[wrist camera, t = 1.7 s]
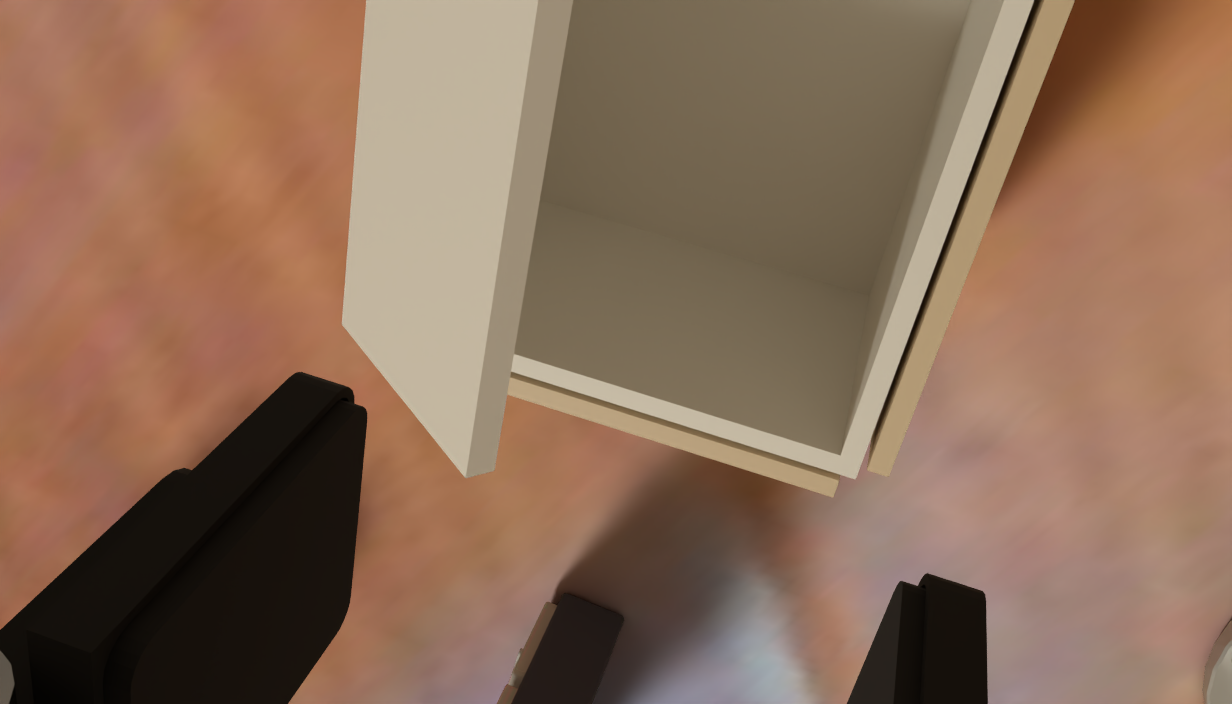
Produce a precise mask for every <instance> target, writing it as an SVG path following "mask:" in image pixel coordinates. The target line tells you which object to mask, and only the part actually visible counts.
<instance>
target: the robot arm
mask: <svg viewBox="0 0 1232 704" xmlns="http://www.w3.org/2000/svg"><path fill="white" fill-rule="evenodd" d="M366 427H367V411H366V409H365V408H364V407H362V406H359V405H356V404H354V394H353V391H352V390H351V389H350V388H349V387H346V386H343V385H340V384H337V383H334V382H331V381H328V380H325V379H322V378H318V377H315V376H312V375H309V374H306V373H303V372H298V373H295V374H293V375H292V376H291V377H289V378H288V379H287V380H286V381H285V382H284V383H283V384H282V385H281V386H280V387H279V388H278V389H277V390H276V391H275V392H274V393H273V394H272V395H271V396H270V397H268V398H267V399H266V400H265V401H264V402H263V403H262V404H261V405H260V406H259V407H258V408H257V409H256V410H255V411H254V412H253V413H252V414H251V415H250V416H249V417H248V418H247V419H245V420H244V421H243V422H242V423H241V424H240V425H239V426H238V427H237V428H236V429H235V430H234V431H233V432H232V433H231V434H230V435H229V436H228V437H227V438H226V439H225V440H224V441H222V442H221V443H220V444H219V445H218V446H217V447H216V448H215V449H214V450H213V451H212V452H211V453H210V454H209V455H208V456H207V457H206V458H205V459H204V460H203V461H202V462H201V463H199V464H198V465H197V466H196V467H195V468H194V469H193V470H189V469H186V468H182V469H178V470H174V471H173V472H171V473H170V474H169V475H167V476H166V477H164V478H163V479H162V480H161V481H160V482H159V483H157V484H156V485H155V486H154V487H153V488H152V489H151V490H150V491H149V492H148V493H147V494H146V495H145V496H144V497H142V498H141V499H140V500H139V501H138V502H137V503H136V504H135V505H134V506H133V507H132V508H131V509H130V510H129V511H127V512H126V513H125V514H124V515H123V516H122V517H121V518H120V519H119V520H118V521H117V522H116V523H115V524H114V525H112V526H111V527H110V528H109V529H108V530H107V531H106V532H105V533H104V534H103V535H102V536H101V537H100V538H98V539H97V540H96V541H95V542H94V543H93V544H92V545H91V546H90V547H89V548H88V549H87V550H86V551H85V552H83V553H82V554H81V555H80V556H79V557H78V558H77V559H76V560H75V561H74V562H73V563H72V564H71V565H70V566H68V567H67V568H66V569H65V570H64V571H63V572H62V573H61V574H60V575H59V576H58V577H57V578H56V579H55V580H53V581H52V582H51V583H50V584H49V585H48V586H47V587H46V588H45V589H44V590H43V591H42V592H41V593H39V594H38V595H37V596H36V597H35V598H34V599H33V600H32V601H31V602H30V603H29V604H28V605H27V606H26V607H24V608H23V609H22V610H21V611H20V612H19V613H18V614H17V615H16V616H15V617H14V618H13V619H12V620H11V621H9V622H8V623H7V624H6V625H5V626H4V627H3V628H2V629H1V630H0V704H288V703H289V701H290V700H291V698H292V697H293V696H294V694H295V693H296V691H297V690H298V688H299V687H300V686H301V684H302V683H303V681H304V680H305V678H306V677H307V676H308V674H309V673H310V671H311V670H312V668H313V667H314V666H315V664H316V663H317V661H318V660H319V658H320V657H321V655H322V654H323V653H324V651H325V650H326V648H327V647H328V645H329V644H330V643H331V641H332V640H333V638H334V637H335V635H336V634H337V632H338V631H339V629H340V627H341V625H342V623H343V621H344V619H345V616H346V613H347V611H348V607H349V604H350V598H351V589H352V578H353V567H354V556H355V546H356V535H357V524H358V513H359V503H360V492H361V481H362V470H363V459H364V449H365V438H366ZM1202 691H1203V697H1204V704H1232V620H1231V621H1230V622H1229V624H1228V625H1227V626H1226V628H1225V629H1224V631H1223V632H1222V633H1221V635H1220V636H1219V638H1218V639H1217V640H1216V642H1215V643H1214V646H1213V648H1212V651H1211V653H1210V656H1209V658H1208V661H1207V663H1206V666H1205V672H1204V681H1203V689H1202ZM847 704H988V692H987V632H986V598H985V594H984V592H983V591H981V590H978V589H974V588H971V587H968V586H965V585H962V584H959V583H956V582H953V581H950V580H946V579H943V578H940V577H937V576H934V575H931V574H928V573H927V574H925V575H924V576H923V578H922V579H921V581H920V583H919V585H918V586H916V585H913V584H910V583H906V582H903V581H900V582H899V583H898V585H897V587H896V589H895V591H894V593H893V595H892V598H891V600H890V603H889V605H888V607H887V610H886V612H885V614H884V617H883V619H882V622H881V624H880V626H879V629H878V631H877V633H876V636H875V638H874V641H873V643H872V645H871V648H870V650H869V652H868V655H867V657H866V660H865V662H864V664H863V667H862V669H861V671H860V674H859V676H858V679H857V681H856V683H855V686H854V688H853V690H852V693H851V695H850V698H849V700H848V702H847Z"/></svg>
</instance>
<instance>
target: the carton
mask: <svg viewBox="0 0 1232 704" xmlns="http://www.w3.org/2000/svg"><path fill="white" fill-rule="evenodd" d="M1074 1H1075V0H573V4H572V10H571V16H570V22H569V28H568V34H567V40H566V46H565V52H564V58H563V64H562V70H561V76H560V82H559V88H558V94H557V100H556V106H555V112H554V118H553V124H552V130H551V136H550V142H549V147H548V153H547V159H546V165H545V171H544V177H543V183H542V189H541V195H540V201H539V207H538V213H537V219H536V225H535V231H534V237H533V243H532V249H531V255H530V261H529V267H528V273H527V279H526V285H525V291H524V297H523V303H522V309H521V315H520V320H519V326H518V332H517V338H516V344H515V350H514V356H513V362H512V368H511V374H510V380H509V386H508V392H507V395H511V396H514V397H517V398H520V399H523V400H526V401H530V402H533V403H536V404H539V405H542V406H545V407H548V408H552V409H555V410H558V411H561V412H564V413H567V414H571V415H574V416H577V417H580V418H583V419H586V420H590V421H593V422H596V423H599V424H602V425H605V426H608V427H612V428H615V429H618V430H621V431H624V432H627V433H631V434H634V435H637V436H640V437H643V438H646V439H650V440H653V441H656V442H659V443H662V444H665V445H669V446H672V447H675V448H678V449H681V450H684V451H687V452H691V453H694V454H697V455H700V456H703V457H706V458H710V459H713V460H716V461H719V462H722V463H725V464H729V465H732V466H735V467H738V468H741V469H744V470H748V471H751V472H754V473H757V474H760V475H763V476H766V477H770V478H773V479H776V480H779V481H782V482H785V483H789V484H792V485H795V486H798V487H801V488H804V489H808V490H811V491H814V492H817V493H820V494H823V495H827V496H830V497H834V494H835V491H836V488H837V486H838V483H839V480H840V475H843V476H846V477H849V478H852V479H855V480H856V477H857V474H858V472H859V469H860V466H861V464H862V461H863V458H864V455H865V453H866V450H867V447H868V445H869V442H870V439H871V445H870V452H869V459H868V466H867V470H868V471H871V472H874V473H877V474H880V475H884V476H887V477H889V474H890V472H891V469H892V467H893V464H894V462H895V459H896V457H897V454H898V451H899V449H900V446H901V444H902V441H903V439H904V436H905V434H906V431H907V428H908V426H909V423H910V421H911V418H912V416H913V413H914V411H915V408H916V405H917V403H918V400H919V398H920V395H921V393H922V390H923V388H924V385H925V382H926V380H927V377H928V375H929V372H930V370H931V367H932V365H933V362H934V359H935V357H936V354H937V352H938V349H939V347H940V344H941V342H942V339H943V336H944V334H945V331H946V329H947V326H948V324H949V321H950V318H951V316H952V313H953V311H954V308H955V306H956V303H957V301H958V298H959V295H960V293H961V290H962V288H963V285H964V283H965V280H966V278H967V275H968V272H969V270H970V267H971V265H972V262H973V260H974V257H975V255H976V252H977V249H978V247H979V244H980V242H981V239H982V237H983V234H984V232H985V229H986V226H987V224H988V221H989V219H990V216H991V214H992V211H993V209H994V206H995V203H996V201H997V198H998V196H999V193H1000V191H1001V188H1002V186H1003V183H1004V180H1005V178H1006V175H1007V173H1008V170H1009V168H1010V165H1011V163H1012V160H1013V157H1014V155H1015V152H1016V150H1017V147H1018V145H1019V142H1020V139H1021V137H1022V134H1023V132H1024V129H1025V127H1026V124H1027V122H1028V119H1029V116H1030V114H1031V111H1032V109H1033V106H1034V104H1035V101H1036V99H1037V96H1038V93H1039V91H1040V88H1041V86H1042V83H1043V81H1044V78H1045V76H1046V73H1047V70H1048V68H1049V65H1050V63H1051V60H1052V58H1053V55H1054V53H1055V50H1056V47H1057V45H1058V42H1059V40H1060V37H1061V35H1062V32H1063V30H1064V27H1065V24H1066V22H1067V19H1068V17H1069V14H1070V12H1071V9H1072V7H1073V4H1074ZM871 437H872V438H871Z"/></svg>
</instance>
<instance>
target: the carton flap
mask: <svg viewBox="0 0 1232 704" xmlns="http://www.w3.org/2000/svg"><path fill="white" fill-rule="evenodd" d="M572 4H573V0H366V12H365V25H364V38H363V52H362V65H361V78H360V91H359V104H358V118H357V131H356V144H355V157H354V171H353V184H352V197H351V210H350V224H349V237H348V250H347V263H346V277H345V290H344V303H343V316H342V325H343V326H344V328H345V329H346V330H347V331H348V333H349V334H350V335H351V336H352V338H353V339H354V340H355V341H356V343H357V344H358V345H359V346H360V348H361V349H362V350H363V351H364V353H365V354H366V355H367V356H368V357H369V359H370V360H371V361H372V362H373V364H374V365H375V366H376V367H377V369H378V370H379V371H380V372H381V374H382V375H383V376H384V377H385V379H386V380H387V381H388V382H389V384H390V385H391V386H392V387H393V389H394V390H395V391H396V392H397V394H398V395H399V396H400V397H401V399H402V400H403V401H404V402H405V403H406V405H407V406H408V407H409V408H410V410H411V411H412V412H413V413H414V415H415V416H416V417H417V418H418V420H419V421H420V422H421V423H422V425H423V426H424V427H425V428H426V430H427V431H428V432H429V433H430V435H431V436H432V437H433V438H434V440H435V441H436V442H437V443H438V445H439V446H440V447H441V448H442V450H443V451H444V452H445V453H446V454H447V456H448V457H449V458H450V459H451V461H452V462H453V463H454V464H455V466H456V467H457V468H458V469H459V471H460V472H461V473H462V474H463V476H464V477H465V478H468V477H472V476H476V475H480V474H484V473H488V472H492V471H494V470H495V464H496V458H497V452H498V446H499V440H500V434H501V428H502V422H503V416H504V410H505V404H506V398H507V392H508V386H509V380H510V374H511V368H512V362H513V356H514V350H515V344H516V338H517V332H518V326H519V320H520V315H521V309H522V303H523V297H524V291H525V285H526V279H527V273H528V267H529V261H530V255H531V249H532V243H533V237H534V231H535V225H536V219H537V213H538V207H539V201H540V195H541V189H542V183H543V177H544V171H545V165H546V159H547V153H548V147H549V142H550V136H551V130H552V124H553V118H554V112H555V106H556V100H557V94H558V88H559V82H560V76H561V70H562V64H563V58H564V52H565V46H566V40H567V34H568V28H569V22H570V16H571V10H572Z"/></svg>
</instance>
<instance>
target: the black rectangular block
mask: <svg viewBox="0 0 1232 704" xmlns="http://www.w3.org/2000/svg"><path fill="white" fill-rule="evenodd" d="M623 622H624V618H623V617H622V616H621V615H618V614H616V613H614V612H611V611H609V610H606V609H604V608H601V607H599V606H596V605H594V604H592V603H589V602H587V601H584V600H582V599H579V598H577V597H574V596H572V595H569V594H566V593H565V594H563V595H562V597H561V599H560V601H559V603H558V605H555V604H553V603H550V602H546V604H545V605H544V607H543V609H542V612H541V614H540V616H539V618H538V620H537V622H536V624H535V626H534V628H533V630H532V632H531V634H530V636H529V638H528V640H527V642H526V645H525V647H524V649H522V648H521V649H520V651H519V654H518V657H517V660H516V663H515V666H514V669H513V672H512V674H511V677H510V680H509V683H508V684H507V685H506V686H505V688H504V690H503V692H502V694H501V696H500V698H499V700H498V702H497V704H592V702H593V700H594V697H595V694H596V692H597V689H598V687H599V684H600V681H601V679H602V676H603V674H604V671H605V668H606V666H607V663H608V661H609V658H610V655H611V653H612V650H613V648H614V645H615V643H616V640H617V637H618V635H619V632H620V630H621V627H622V624H623Z"/></svg>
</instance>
